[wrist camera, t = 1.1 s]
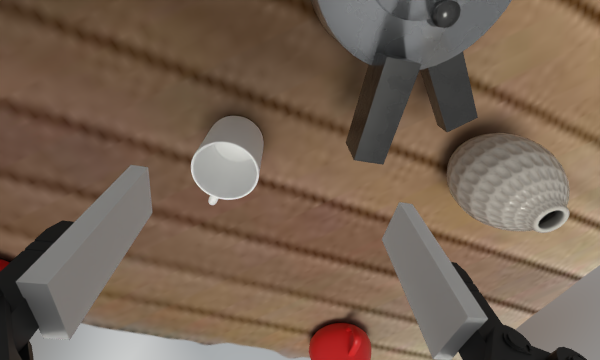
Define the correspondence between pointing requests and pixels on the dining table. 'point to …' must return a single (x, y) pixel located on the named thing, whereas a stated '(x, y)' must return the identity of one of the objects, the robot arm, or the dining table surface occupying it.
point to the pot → (442, 88)
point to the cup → (229, 159)
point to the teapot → (340, 343)
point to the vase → (509, 183)
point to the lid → (399, 54)
